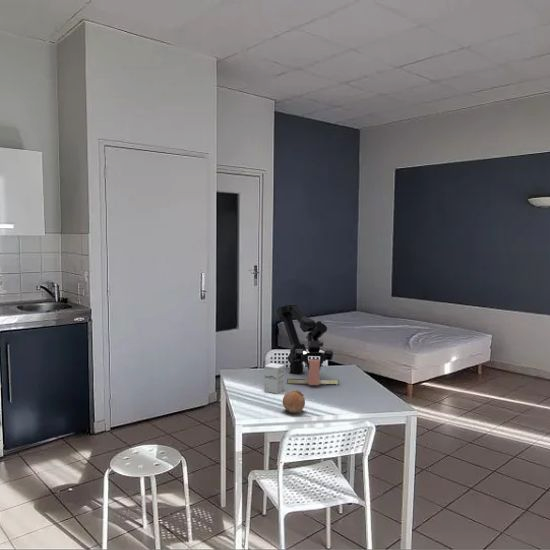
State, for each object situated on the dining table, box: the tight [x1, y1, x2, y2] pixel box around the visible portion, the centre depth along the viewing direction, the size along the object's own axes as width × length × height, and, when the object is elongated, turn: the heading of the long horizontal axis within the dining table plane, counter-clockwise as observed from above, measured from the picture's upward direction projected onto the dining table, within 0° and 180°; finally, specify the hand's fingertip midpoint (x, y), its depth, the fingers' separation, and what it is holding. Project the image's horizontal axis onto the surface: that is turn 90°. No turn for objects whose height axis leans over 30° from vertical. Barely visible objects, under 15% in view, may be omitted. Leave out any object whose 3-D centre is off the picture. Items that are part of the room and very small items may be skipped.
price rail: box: [286, 378, 340, 386], centre depth 259 cm, size 3×26×2 cm, turn 90°
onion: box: [282, 390, 306, 414], centre depth 217 cm, size 10×9×10 cm
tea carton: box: [307, 358, 321, 386], centre depth 254 cm, size 4×5×12 cm
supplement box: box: [263, 362, 286, 395], centre depth 245 cm, size 7×7×13 cm
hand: (314, 369), depth 252 cm, fingers closed on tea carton, 5 cm apart
